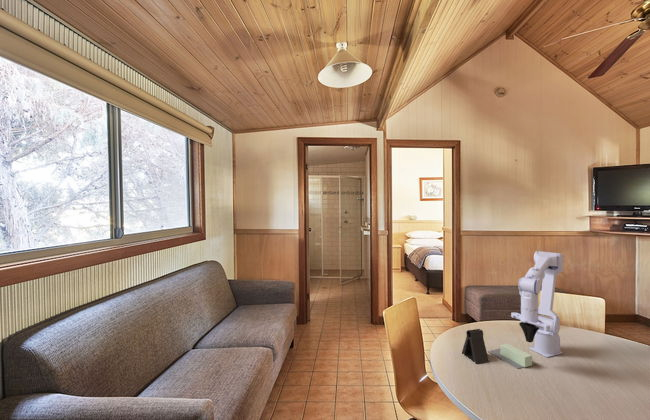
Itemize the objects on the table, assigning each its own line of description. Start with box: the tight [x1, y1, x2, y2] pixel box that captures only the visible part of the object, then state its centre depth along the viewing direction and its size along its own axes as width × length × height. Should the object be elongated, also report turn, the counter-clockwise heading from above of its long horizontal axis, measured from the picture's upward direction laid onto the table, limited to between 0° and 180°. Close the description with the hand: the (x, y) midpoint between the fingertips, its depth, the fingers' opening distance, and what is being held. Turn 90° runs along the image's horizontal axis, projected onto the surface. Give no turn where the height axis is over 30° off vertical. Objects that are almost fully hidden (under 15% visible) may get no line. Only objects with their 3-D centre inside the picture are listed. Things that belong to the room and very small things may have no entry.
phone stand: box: [461, 328, 490, 365], centre depth 125 cm, size 9×6×12 cm, turn 13°
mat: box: [487, 348, 537, 369], centre depth 124 cm, size 10×14×1 cm
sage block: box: [499, 342, 533, 368], centre depth 122 cm, size 4×4×11 cm
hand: (529, 341), depth 117 cm, fingers closed
